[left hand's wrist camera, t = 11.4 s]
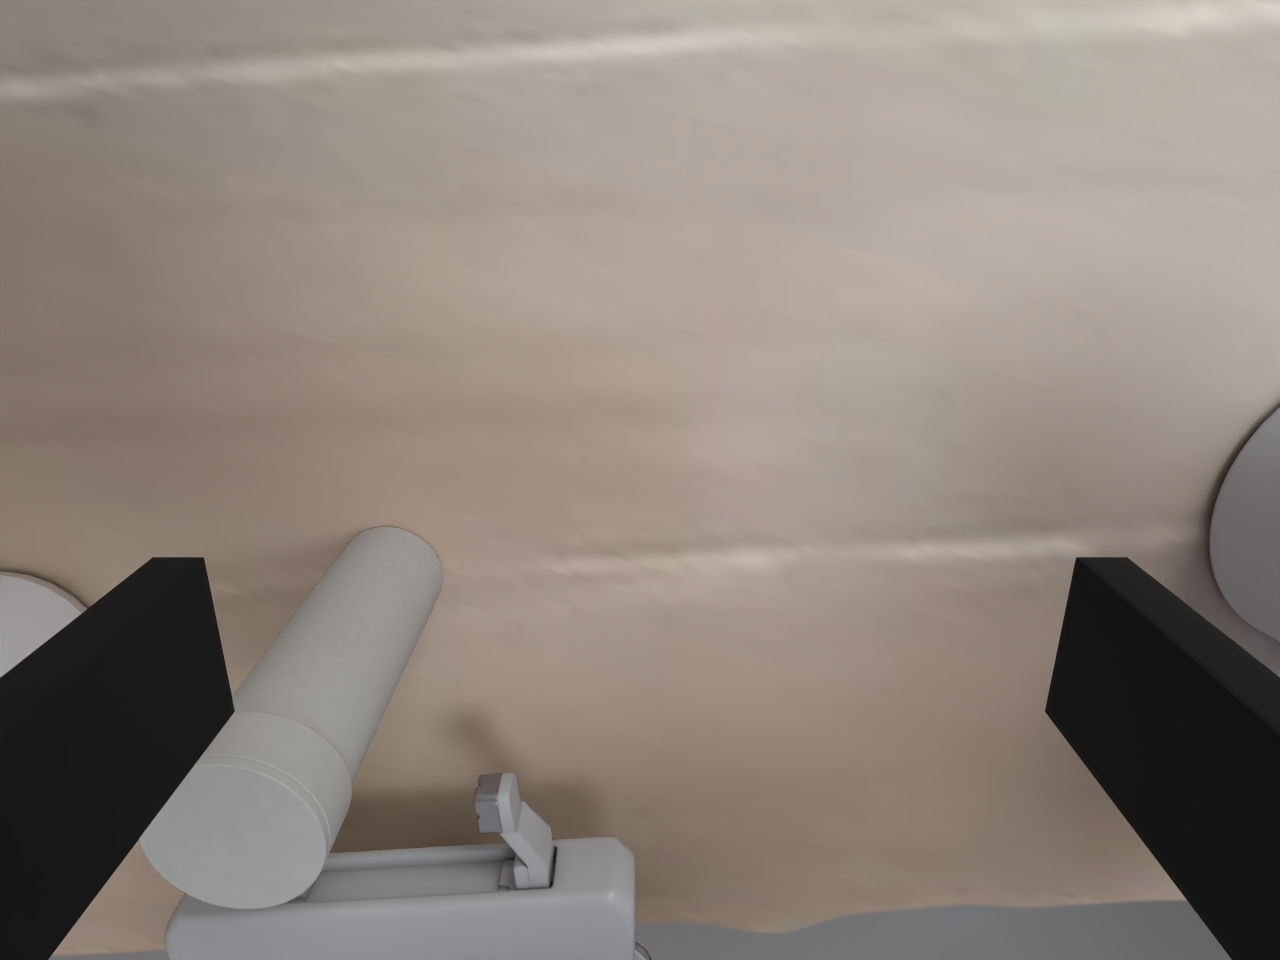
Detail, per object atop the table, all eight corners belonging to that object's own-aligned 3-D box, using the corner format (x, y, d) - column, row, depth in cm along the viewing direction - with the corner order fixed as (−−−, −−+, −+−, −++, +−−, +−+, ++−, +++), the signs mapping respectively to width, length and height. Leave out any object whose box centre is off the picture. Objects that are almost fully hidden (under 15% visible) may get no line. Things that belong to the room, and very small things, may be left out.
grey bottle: (337, 522, 37) (143, 755, 22) (443, 530, 37) (317, 767, 23) (342, 613, 39) (165, 885, 24) (443, 620, 39) (326, 895, 24)
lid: (169, 704, 24) (123, 758, 22) (349, 716, 24) (320, 771, 22) (189, 841, 26) (148, 903, 24) (356, 852, 26) (330, 915, 24)
